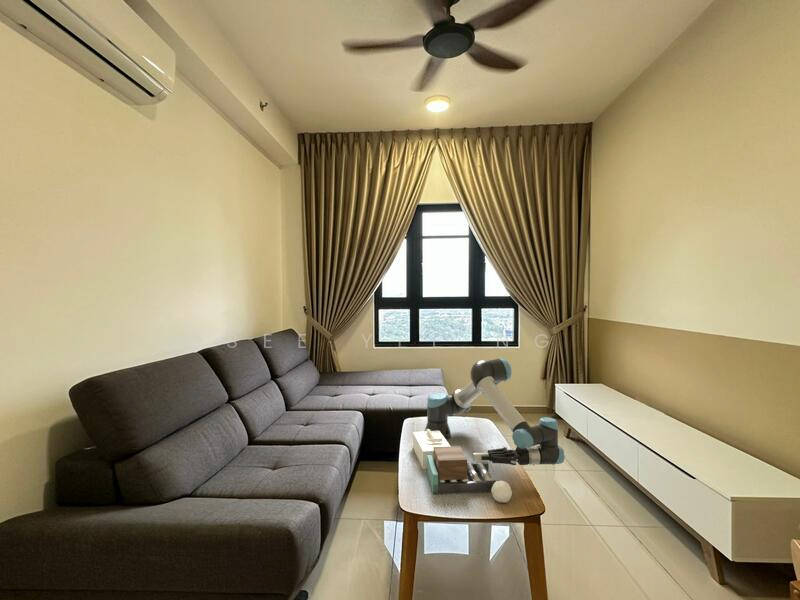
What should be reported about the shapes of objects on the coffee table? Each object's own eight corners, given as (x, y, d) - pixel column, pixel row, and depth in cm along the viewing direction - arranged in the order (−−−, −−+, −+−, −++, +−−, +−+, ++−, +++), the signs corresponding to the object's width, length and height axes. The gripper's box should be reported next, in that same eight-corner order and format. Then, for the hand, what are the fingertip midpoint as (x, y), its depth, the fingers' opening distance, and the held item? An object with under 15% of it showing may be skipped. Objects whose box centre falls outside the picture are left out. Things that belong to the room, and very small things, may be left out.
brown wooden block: (433, 464, 165) (433, 446, 165) (459, 463, 166) (459, 446, 166) (438, 479, 151) (438, 460, 151) (467, 479, 152) (467, 459, 152)
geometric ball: (496, 507, 144) (485, 486, 148) (513, 497, 146) (502, 477, 149) (500, 507, 137) (489, 485, 141) (518, 497, 139) (507, 475, 143)
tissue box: (423, 469, 170) (423, 446, 170) (413, 448, 195) (412, 427, 195) (453, 467, 173) (453, 444, 173) (439, 446, 197) (439, 426, 197)
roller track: (427, 472, 167) (427, 462, 167) (487, 470, 169) (487, 460, 169) (433, 494, 149) (433, 483, 149) (500, 491, 150) (500, 480, 150)
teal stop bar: (427, 472, 167) (427, 455, 167) (431, 472, 167) (431, 454, 167) (433, 494, 149) (433, 474, 149) (438, 494, 149) (438, 474, 149)
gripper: (533, 471, 153) (477, 472, 152) (521, 457, 166) (469, 458, 165) (533, 453, 153) (477, 454, 152) (521, 441, 166) (469, 442, 165)
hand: (473, 456), depth 158 cm, fingers closed
